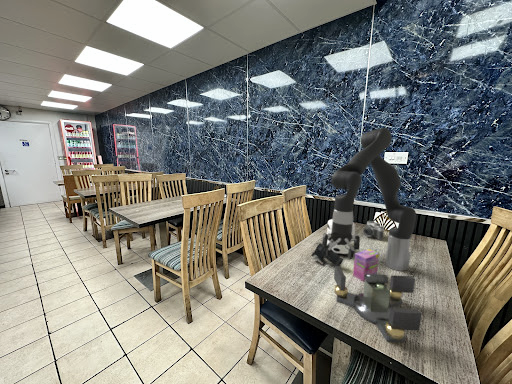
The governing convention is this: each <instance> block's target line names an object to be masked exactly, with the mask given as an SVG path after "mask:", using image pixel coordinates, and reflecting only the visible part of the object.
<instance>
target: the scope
mask: <svg viewBox="0 0 512 384" xmlns="http://www.w3.org/2000/svg"><path fill="white" fill-rule="evenodd" d="M326 251H327V249H324V248H323V246H322V242H319V243H318V245H317V246H316V248H315V250H314V251H313V252H312V253H311V255H310V256H311V257H312V258H313V259H314V260H316V261H317V262H318V263H320V264H321V265H324V262H322V261H323V260H325V259H326V260H327V261H329V262H330V263H331V264H333V265H334V267H335V266H339V267H340V266H341V264H342V263H343V262H344V258H342V257H341V256H339V254H337V253H335V252H334V251H332V249H331V258H328V257H327V255H326Z"/></svg>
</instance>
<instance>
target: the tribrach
mask: <svg viewBox="0 0 512 384" xmlns="http://www.w3.org/2000/svg"><path fill="white" fill-rule="evenodd" d="M364 277H365V281H364V284H363V292H361V293H357V294H354V293H351V292H349V291H348V292H347V296H346V297H340V296H338V295H336V302H339V303H341V304H344V305H347V306H349V307H352V308H354V310H355V312H356V313H357V314H358V315H359V316H360V317H361V318H363V319H364V320H366V321H368V322H369V323H371V324H374V325H376V327H377V328H378V330H379V331H380V333H381V335H382V337H383V338H384V339H385V341H386V342H391V343H392V342H393V343H405V339H406V337H405V336H404V338H403V339H402V340H397V339H394V338H392V337H391V336H389V335H388V334H387V333H386V331H385V328H386V322H387V321H389V316H390V309H391V308H398V307H399V306H401V305H402V302H403V298H401V299H399V300H396V299H393V298H391V297H390V289H389V288H388V287H389V286H387V284H388V283H389V277H388V275H386V274H379V273H378V274H365V276H364Z"/></svg>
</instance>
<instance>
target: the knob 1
mask: <svg viewBox="0 0 512 384" xmlns="http://www.w3.org/2000/svg"><path fill="white" fill-rule="evenodd" d="M415 283H416V278H415V277H413V276H412V275H411V276H410V275H392V274H391V275H390V280H389V286H387V287H388V288H389V289H390V297H391V298H393V299H396V300H399V299H402V294H403V293H408V294H409V293H411V294H414V289H415Z"/></svg>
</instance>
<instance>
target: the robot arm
mask: <svg viewBox="0 0 512 384" xmlns="http://www.w3.org/2000/svg"><path fill="white" fill-rule="evenodd" d="M360 143H361V146H362V149H361V150H359V151H357V153H356V154H354V155H353V156H352V157H351V159H350V160H349V161H348V162H347V163H346V164H344V165H342V166H341V167H339V168H338V169H337V170H335V172H334V173H333V174H332V176H331V179H330V181H331V186H333V187H334V188H335V189H341V190H347V191H346V193H345V194H337V195H336V196H335V197H334V204H333V206H334V207H333V213H332V219H333V221H332V233H331V234H327V232H324V233H323V235H322V242H321V244H322V246H323V248H324V249H327V251H326V255H327V257H328V258H331V249H332V248H333V247H334V246H335V245H336V244H337V245H346V244H347V245H348V246H349V248H350V249H349V253H348V254H347V257H348V259H349V260H352V259H353V258H354V257H355V251H356V250H358V251H359V250H360V244H361V243H360V240H361V237H360V236H359V234H358V233H355V234H354V235H352V225H353V223H354V204H355V199H356V197H357V193H358V191H359V189H360V187H361V183H362V175H363V173H364V172H365V171H366V169H367V168H368V167H369V165H370V166H371V168H372V170H373V173H374V177H375V180H376V181H377V182H376V183H377V185H378V188H379V189H380V192H381V196H382V198H383V199H382V200H383V202H384V206H385V211H386V214H387V215H386V216H388V219H389V220H391V221H393V222H394V223H396V224H398V225H397V227H392V228H390V229H389V232H388V238H387V239H388V240H387V246H386V247H387V248H386V255H385V256H386V257H385V266H387V268H390V269H392V270H394V271H399V272H400V271H401V272H402V271H406V270H409V267H410V259H411V251H410V244H411V237H412V234H413V232H414V229H415V224H416V220H417V212H416V210H415V208H413V207H409V206H405V205H401V204H400V201H399V199H398V194H399V191H400V188H401V183H402V182H401V179H400V176H399V172H398V170H397V169H396V168H395V167H394V166H393V165H392V164H390V163H389V162H387V161H386V160H385V159H384V158H383V157H382V156H381V155H380V154H381V153H383V151H385V150H386V149H387V148H388V147H389V146H390V145H391V143H392V133H391V130H389V128H387V127H380V128H376V129H373V130H370V131H366V132H363V134H362V135H361V137H360ZM330 237H331V238H332V239H331V240H330V242H329V243H328V245H327V241H328V239H329V238H330ZM352 238H353V239H354V246H352V245H351V243H350V242H349V241H350V240H351V239H352Z"/></svg>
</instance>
